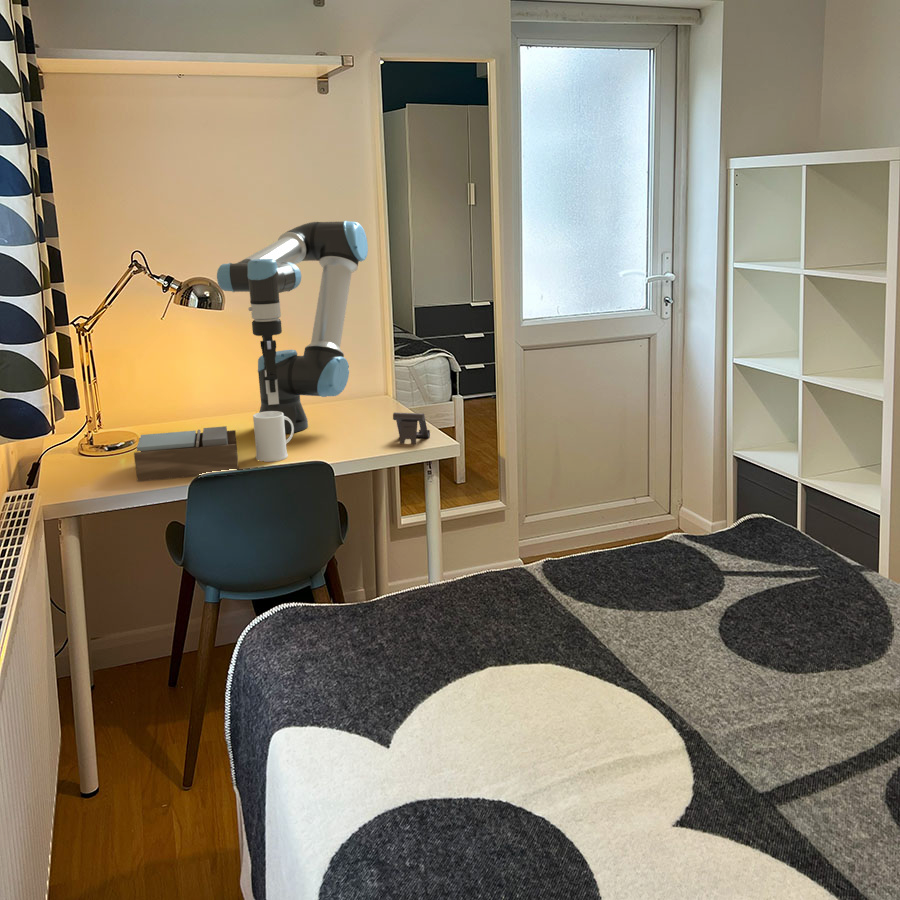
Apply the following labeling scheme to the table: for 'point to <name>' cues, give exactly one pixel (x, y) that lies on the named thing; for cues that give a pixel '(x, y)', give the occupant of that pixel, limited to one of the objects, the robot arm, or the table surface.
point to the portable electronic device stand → (411, 426)
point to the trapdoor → (183, 439)
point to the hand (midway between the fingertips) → (272, 398)
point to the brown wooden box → (186, 460)
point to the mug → (271, 436)
